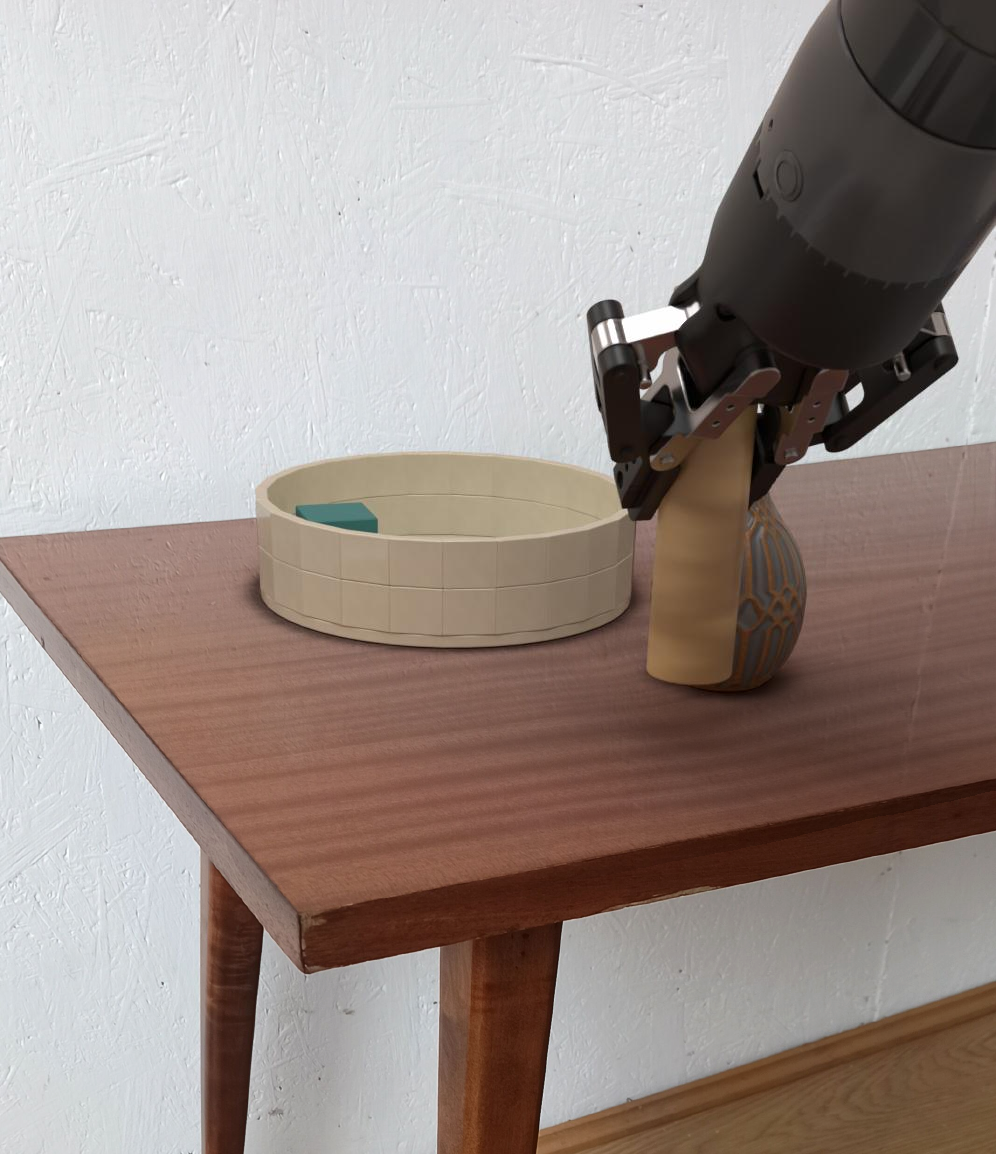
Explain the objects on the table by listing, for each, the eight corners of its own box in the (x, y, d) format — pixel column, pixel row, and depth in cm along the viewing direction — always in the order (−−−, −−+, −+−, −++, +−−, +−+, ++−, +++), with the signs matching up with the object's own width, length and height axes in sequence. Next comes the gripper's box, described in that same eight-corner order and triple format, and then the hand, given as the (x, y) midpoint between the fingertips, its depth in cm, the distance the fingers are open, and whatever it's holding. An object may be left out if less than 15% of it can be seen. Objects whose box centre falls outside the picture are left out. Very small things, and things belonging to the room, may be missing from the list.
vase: (826, 679, 78) (851, 481, 74) (733, 714, 74) (753, 506, 70) (708, 644, 82) (725, 454, 78) (613, 675, 78) (625, 476, 74)
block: (363, 569, 90) (362, 501, 88) (379, 588, 87) (378, 517, 85) (297, 573, 89) (294, 504, 87) (311, 592, 86) (309, 521, 85)
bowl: (640, 552, 97) (646, 460, 94) (618, 659, 80) (625, 550, 78) (305, 534, 98) (302, 443, 96) (218, 634, 82) (211, 528, 79)
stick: (731, 661, 70) (769, 284, 63) (731, 688, 67) (770, 296, 60) (648, 655, 70) (675, 280, 63) (644, 682, 67) (671, 292, 60)
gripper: (1050, 65, 54) (818, 406, 70) (632, 54, 49) (488, 419, 66) (1118, 273, 52) (864, 572, 68) (693, 279, 48) (530, 596, 64)
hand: (681, 496), depth 67 cm, fingers closed on stick, 3 cm apart
